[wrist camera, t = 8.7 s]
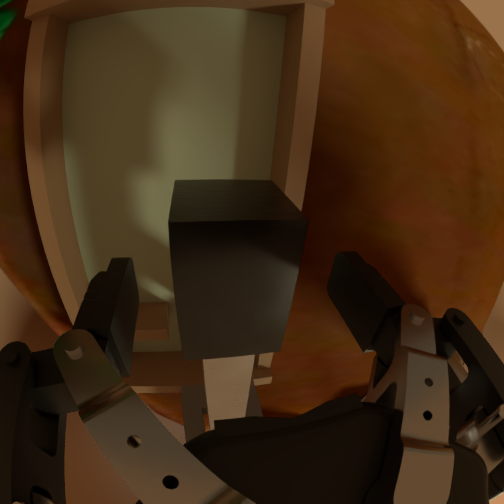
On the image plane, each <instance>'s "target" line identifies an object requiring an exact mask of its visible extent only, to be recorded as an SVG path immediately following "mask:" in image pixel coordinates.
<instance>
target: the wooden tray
mask: <svg viewBox="0 0 504 504" xmlns="http://www.w3.org/2000/svg"><path fill="white" fill-rule="evenodd" d="M334 2H335V0H28V4H27V8H26V11H25V16H24V18H26V19H29V20H31V21H32V25H31V30H30V36H29V42H28V48H27V56H26V65H25V77H24V100H23V116H24V139H25V152H26V161H27V169H28V177H29V183H30V189H31V195H32V200H33V205H34V210H35V215H36V219H37V223H38V227H39V231H40V235H41V239H42V243H43V246H44V250H45V253H46V256H47V259H48V263H49V266H50V269H51V272H52V275H53V277H54V280H55V283H56V286H57V288H58V291H59V294H60V296H61V299H62V301H63V304H64V306H65V309H66V311H67V313H68V316H69V318H70V320H71V322H72V324H73V325H74V322H75V319H76V316H77V314H78V311H79V308H80V306H81V303H82V300H84V295H85V293H86V292H87V288H88V286H89V283H90V281H91V279H92V278H93V277H94V276H95V275H96V274H97V273H98V272H99V271H107V268H108V266H109V263H110V261H111V259H112V258H115V257H131V258H132V259H133V264H134V270H135V275H136V281H137V286H138V292H139V309H138V315H137V322H136V328H135V335H134V343H133V351H132V360H131V369H130V377H121V379H122V380H123V381H124V382H125V384H129V385H130V386H131V388H132V389H133V390H134V391H135V392H136V393H171V392H181V396H182V408H183V419H184V429H185V438H186V443H187V442H188V441H189V440H191V439H193V438H194V437H196V436H198V435H200V434H202V433H205V426H204V419H203V414H205V413H207V405H206V397H205V387H204V378H203V369H202V361H201V360H186V361H184V359H183V353H182V347H181V340H180V334H179V327H178V320H177V312H176V305H175V296H174V288H173V278H172V268H171V257H170V245H169V231H168V219H169V212H170V206H171V199H172V193H173V188H174V182H175V180H203V179H243V180H272V181H273V182H274V183H275V184H276V185H277V186H278V187H279V188H280V189H281V190H282V191H283V193H284V194H285V195H286V196H287V197H288V198H289V199H290V200H291V201H292V202H293V203H294V204H295V205H296V206H297V207H298V209H299V210H300V211H301V212H302V206H303V200H304V193H305V187H306V181H307V174H308V168H309V161H310V154H311V147H312V140H313V132H314V124H315V117H316V108H317V100H318V91H319V82H320V73H321V62H322V52H323V40H324V27H325V12H326V8H328V7H330V6H332V5H334ZM272 356H273V352H272V353H264V354H256V355H255V357H254V364H253V370H252V376H251V383H250V389H249V395H248V401H247V407H246V413H245V417H249V416H260V417H263V414H262V410H261V407H260V403H259V399H258V396H257V392H256V389H255V385H262V384H268V383H271V380H272V373H271V370H270V365H271V361H272Z"/></svg>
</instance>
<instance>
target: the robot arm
mask: <svg viewBox="0 0 504 504" xmlns="http://www.w3.org/2000/svg"><path fill="white" fill-rule="evenodd" d="M327 289H328V294H329V297H330V298H331V300H332V302H333V303H334V305H335V306H336V308H337V310H338V311H339V313H340V314H341V316H342V318H343V319H344V321H345V323H346V324H347V326H348V328H349V329H350V331H351V333H352V334H353V336H354V338H355V339H356V341H357V343H358V344H359V346H360V348H361V349H362V351H363V353H367V352H370V351H374V350H375V351H376V353H377V354H376V355H375V357H374V359H373V365H372V370H371V376H370V381H369V386H368V391H367V394H366V397H365V399H364V401H363V402H361V400H360V398H359V396H358V394H357V393H356V394H352V395H349V396H346V397H342V398H339V399H335V400H331V401H327V402H325V403H323V404H322V405H320V406H318V407H316V408H314V409H312V410H310V411H308V412H306V413H304V414H302V415H300V416H298V417H295V418H276V417H260V416H249V417H241V418H232V419H222V420H214V429H213V430H210V431H207V432H205V433H202V434H200V435H198V436H196V437H194V438H193V439H191V440H189V441H188V442H187V443H185V444H184V445H182V444H181V443H180V442H179V441H178V440H177V439H176V438H175V437H174V436H173V435H172V434H171V433H170V432H169V431H168V430H167V429H166V427H165V426H164V425H163V424H162V423H161V422H160V421H159V420H158V419H157V418H156V416H155V415H154V414H153V413H152V412H151V411H150V409H149V408H148V407H147V406H146V405H145V403H144V402H143V401H142V400H141V399H140V397H139V396H138V395H137V394H136V392H135V391H134V390H133V389H132V388H131V386H130V385H129V384H125V382H124V381H123V380H122V379H121V377H130V369H131V360H132V351H133V343H134V335H135V328H136V322H137V315H138V309H139V292H138V286H137V281H136V275H135V270H134V264H133V259H132V258H131V257H115V258H112V259H111V261H110V263H109V266H108V268H107V271H99V272H98V273H97V274H96V275H95V276H94V277H93V278H92V279H91V281H90V283H89V286H88V288H87V292H86V293H85V295H84V300H82V303H81V306H80V308H79V311H78V314H77V316H76V319H75V322H74V325H73V328H72V330H70V331H67V332H65V333H64V334H62V335H61V336H60V337H59V338H58V339H57V340H56V342H55V344H54V347H53V348H51V349H47V350H42V351H37V352H31V351H30V349H29V348H28V346H27V345H26V344H25V343H22V342H19V341H16V342H11V343H9V344H7V345H6V346H5V347H4V348H3V349H2V350H1V351H0V504H66V498H65V481H64V480H65V479H64V449H65V430H66V418H67V413H70V412H75V411H79V415H80V417H81V419H82V421H83V423H84V425H85V426H86V428H87V430H88V431H89V433H90V434H91V436H92V438H93V439H94V441H95V442H96V444H97V445H98V447H99V448H100V450H101V451H102V453H103V454H104V456H105V457H106V458H107V460H108V461H109V463H110V464H111V465H112V467H113V468H114V469H115V471H116V472H117V473H118V474H119V475H120V477H121V478H122V479H123V481H124V482H125V483H126V484H127V486H128V487H129V488H130V489H131V490H132V491H133V493H134V494H135V495H136V496H137V497H138V498H139V500H138V501H137V503H136V504H489V501H491V500H493V499H494V498H496V497H498V496H499V495H501V494H502V493H504V364H503V362H502V361H501V360H500V358H499V357H498V355H497V354H496V353H495V351H494V350H493V348H492V347H491V346H490V344H489V343H488V342H487V340H486V339H485V338H484V337H483V335H482V334H481V333H480V331H479V330H478V329H477V327H476V326H475V325H474V324H473V322H472V321H471V320H470V319H469V318H468V316H467V315H466V314H465V313H463V312H462V311H460V310H458V309H455V308H449V309H447V311H446V312H445V314H444V316H443V317H442V318H432V317H431V315H430V314H429V312H428V311H427V310H425V309H424V308H422V307H420V306H418V305H415V304H406V303H405V302H404V301H403V300H402V299H401V297H400V296H399V295H398V294H397V293H396V292H395V290H394V289H393V288H392V287H391V286H390V285H389V284H388V282H387V281H386V280H385V279H384V278H382V276H381V275H380V273H379V272H378V271H377V270H376V269H375V268H373V267H372V266H370V265H369V264H367V263H366V262H365V261H364V260H363V259H362V258H361V256H360V255H359V254H358V253H357V252H354V251H353V252H338V253H337V254H336V256H335V260H334V263H333V267H332V270H331V273H330V277H329V280H328V285H327ZM456 350H457V352H458V353H459V355H460V356H461V357H460V356H459V355H458V353H457V352H456ZM461 358H462V359H463V360H462V359H461ZM463 361H464V362H465V364H466V365H467V367H468V371H469V372H467V371H466V370H465V368H464V367H463V365H462V364H463Z"/></svg>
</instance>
